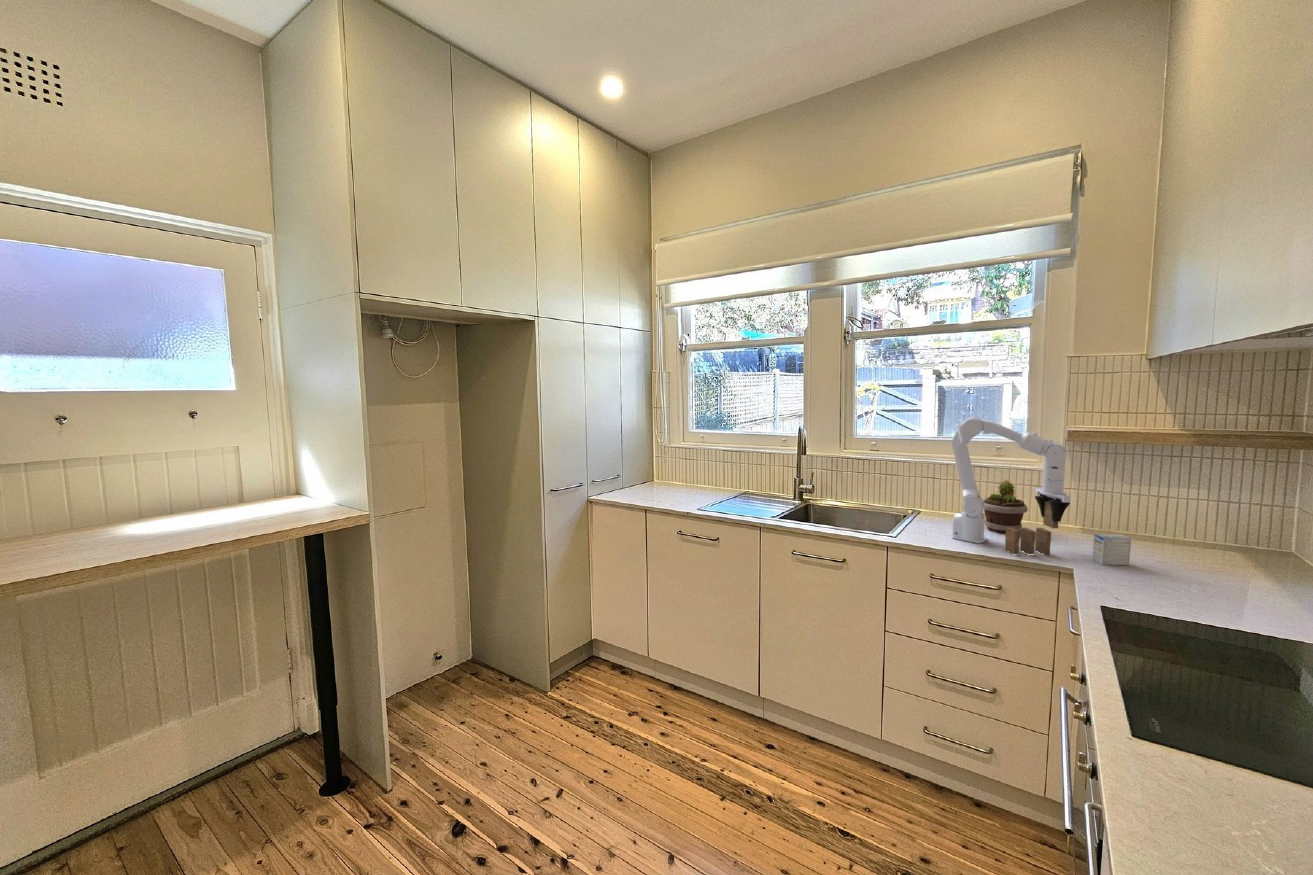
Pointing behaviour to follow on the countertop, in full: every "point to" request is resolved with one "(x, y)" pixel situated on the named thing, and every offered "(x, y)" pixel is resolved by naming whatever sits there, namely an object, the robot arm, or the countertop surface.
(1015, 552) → the domino
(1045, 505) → the domino
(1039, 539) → the domino
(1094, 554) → the medicine box
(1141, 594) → the countertop surface
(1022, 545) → the domino
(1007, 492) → the flowerpot
